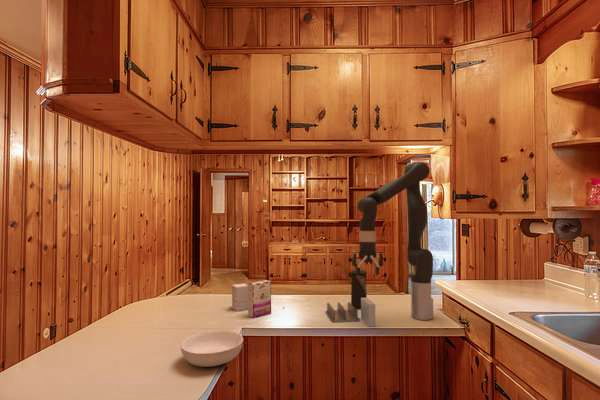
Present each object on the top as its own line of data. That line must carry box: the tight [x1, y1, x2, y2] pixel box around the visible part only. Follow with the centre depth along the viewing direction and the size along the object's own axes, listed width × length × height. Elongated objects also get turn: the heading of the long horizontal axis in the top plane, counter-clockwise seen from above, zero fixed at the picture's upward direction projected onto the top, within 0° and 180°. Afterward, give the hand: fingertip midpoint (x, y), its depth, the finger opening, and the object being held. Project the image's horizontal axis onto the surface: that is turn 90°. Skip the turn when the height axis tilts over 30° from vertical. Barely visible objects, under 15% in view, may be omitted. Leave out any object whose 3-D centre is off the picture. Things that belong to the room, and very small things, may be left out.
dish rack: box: [325, 301, 360, 323], centre depth 168 cm, size 13×16×5 cm
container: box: [349, 269, 368, 310], centre depth 184 cm, size 9×9×20 cm
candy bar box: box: [247, 279, 272, 319], centre depth 171 cm, size 11×5×16 cm, turn 132°
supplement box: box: [231, 283, 248, 312], centre depth 182 cm, size 7×7×13 cm
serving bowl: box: [180, 330, 244, 368], centre depth 119 cm, size 21×21×7 cm
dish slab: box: [360, 297, 376, 328], centre depth 159 cm, size 3×12×10 cm, turn 7°
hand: (367, 275), depth 160 cm, fingers open, 8 cm apart
